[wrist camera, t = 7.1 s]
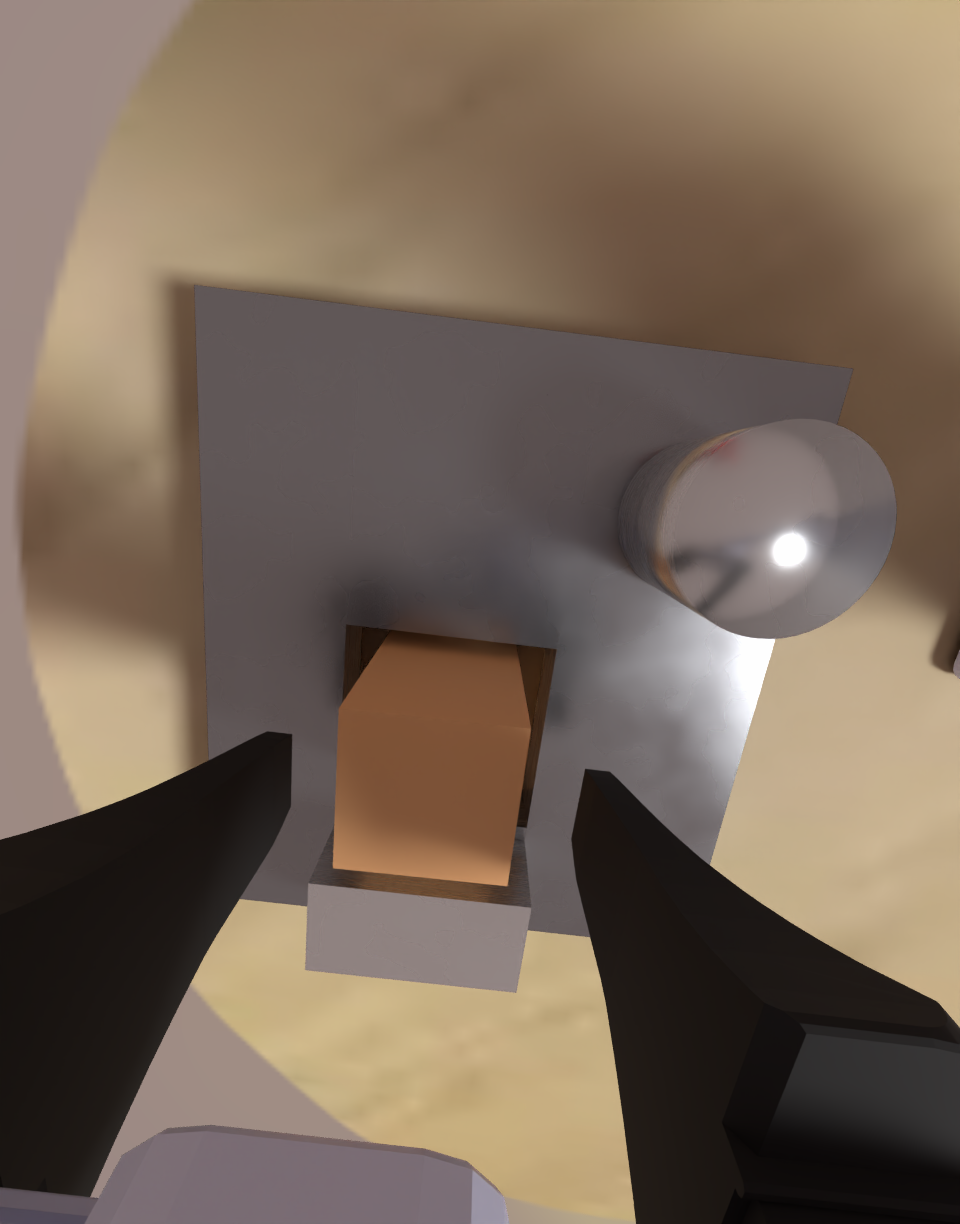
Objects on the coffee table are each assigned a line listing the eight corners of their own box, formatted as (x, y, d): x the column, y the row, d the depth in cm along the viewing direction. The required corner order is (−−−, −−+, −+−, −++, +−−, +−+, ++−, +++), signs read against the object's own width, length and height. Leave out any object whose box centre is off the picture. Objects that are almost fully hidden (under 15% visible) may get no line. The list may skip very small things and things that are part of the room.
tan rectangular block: (515, 639, 16) (531, 729, 10) (500, 747, 17) (507, 886, 11) (393, 625, 16) (339, 708, 10) (386, 735, 17) (332, 868, 11)
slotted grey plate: (801, 385, 14) (1032, 312, 8) (664, 898, 18) (747, 1091, 12) (236, 313, 13) (46, 184, 8) (242, 851, 18) (125, 1025, 12)
